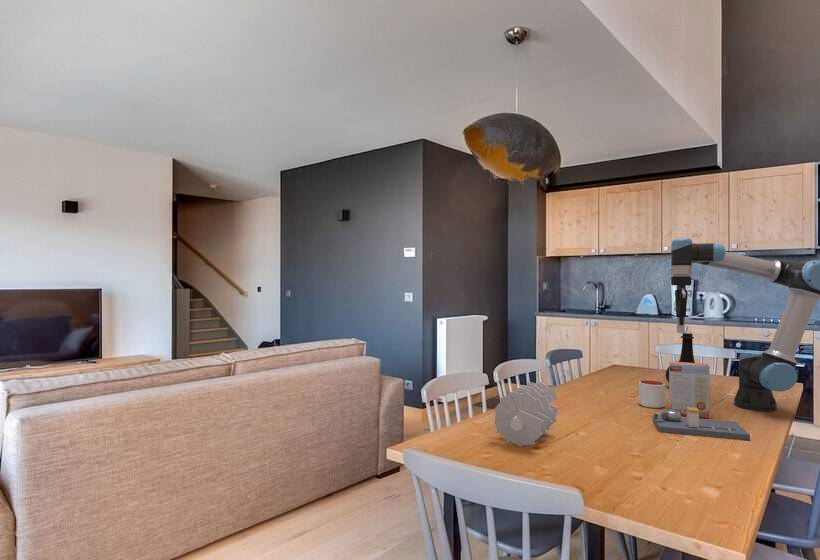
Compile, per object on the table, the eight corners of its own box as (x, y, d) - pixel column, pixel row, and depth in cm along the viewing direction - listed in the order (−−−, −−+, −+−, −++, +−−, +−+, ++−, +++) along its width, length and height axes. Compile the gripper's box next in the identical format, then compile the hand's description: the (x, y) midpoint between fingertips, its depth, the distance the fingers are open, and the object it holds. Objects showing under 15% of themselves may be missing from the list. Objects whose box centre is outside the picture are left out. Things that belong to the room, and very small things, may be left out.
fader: (696, 424, 180) (696, 407, 180) (699, 427, 176) (699, 410, 176) (686, 423, 181) (686, 407, 181) (688, 426, 177) (689, 409, 177)
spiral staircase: (503, 458, 162) (525, 434, 183) (552, 443, 153) (570, 420, 175) (479, 405, 165) (504, 387, 186) (527, 388, 156) (547, 371, 178)
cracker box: (707, 415, 200) (708, 363, 200) (709, 419, 195) (710, 365, 195) (668, 411, 206) (669, 360, 206) (669, 414, 201) (669, 362, 201)
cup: (662, 410, 208) (662, 386, 208) (636, 406, 214) (636, 383, 214) (666, 405, 216) (667, 382, 216) (641, 401, 222) (642, 379, 222)
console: (735, 427, 184) (735, 421, 184) (750, 440, 169) (750, 434, 169) (652, 420, 193) (652, 414, 193) (658, 431, 178) (658, 426, 178)
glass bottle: (660, 384, 258) (660, 330, 258) (697, 386, 256) (697, 331, 256) (673, 392, 240) (674, 334, 240) (713, 394, 238) (714, 335, 238)
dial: (670, 416, 190) (671, 408, 190) (684, 420, 185) (684, 412, 185) (649, 419, 186) (649, 411, 186) (662, 423, 181) (662, 415, 181)
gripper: (668, 276, 214) (667, 330, 214) (674, 275, 202) (673, 334, 202) (688, 276, 212) (687, 331, 212) (695, 275, 199) (694, 334, 199)
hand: (680, 332), depth 207 cm, fingers closed
